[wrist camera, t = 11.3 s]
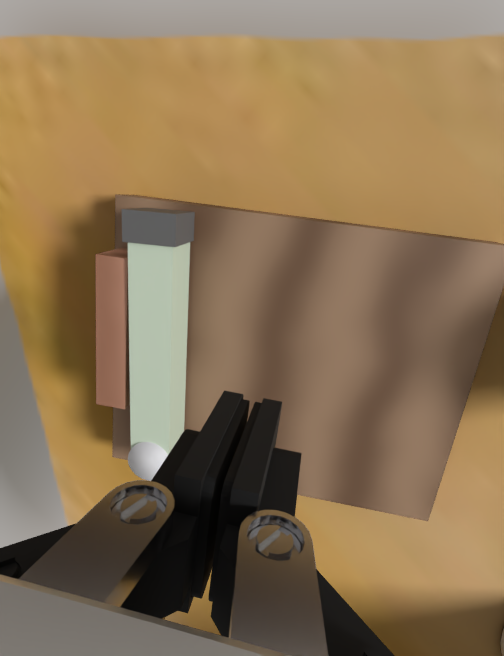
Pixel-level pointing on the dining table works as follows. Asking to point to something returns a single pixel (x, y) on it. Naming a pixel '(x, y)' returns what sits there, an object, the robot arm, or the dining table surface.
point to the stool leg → (157, 330)
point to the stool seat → (321, 342)
